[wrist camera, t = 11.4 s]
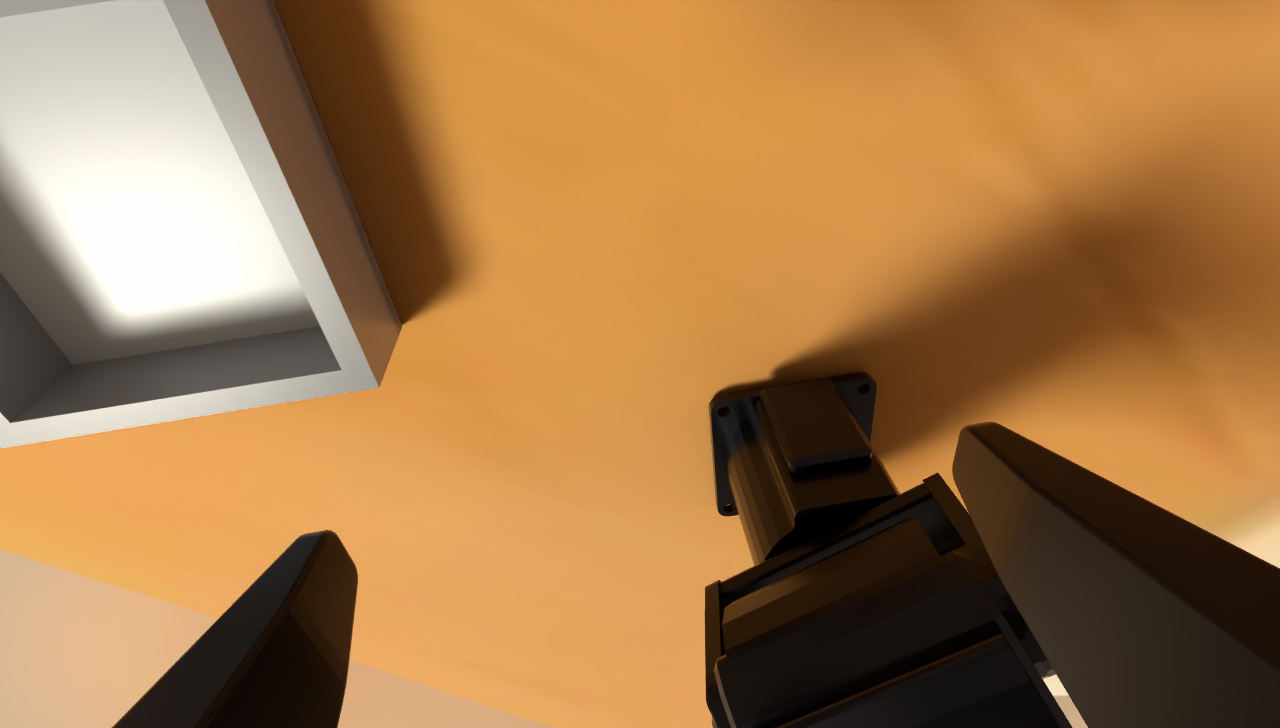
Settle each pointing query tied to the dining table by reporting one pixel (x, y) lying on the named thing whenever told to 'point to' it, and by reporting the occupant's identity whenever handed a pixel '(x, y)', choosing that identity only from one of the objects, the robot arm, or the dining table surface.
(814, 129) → the dining table surface
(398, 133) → the dining table surface
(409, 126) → the dining table surface
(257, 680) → the robot arm
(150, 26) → the tray
